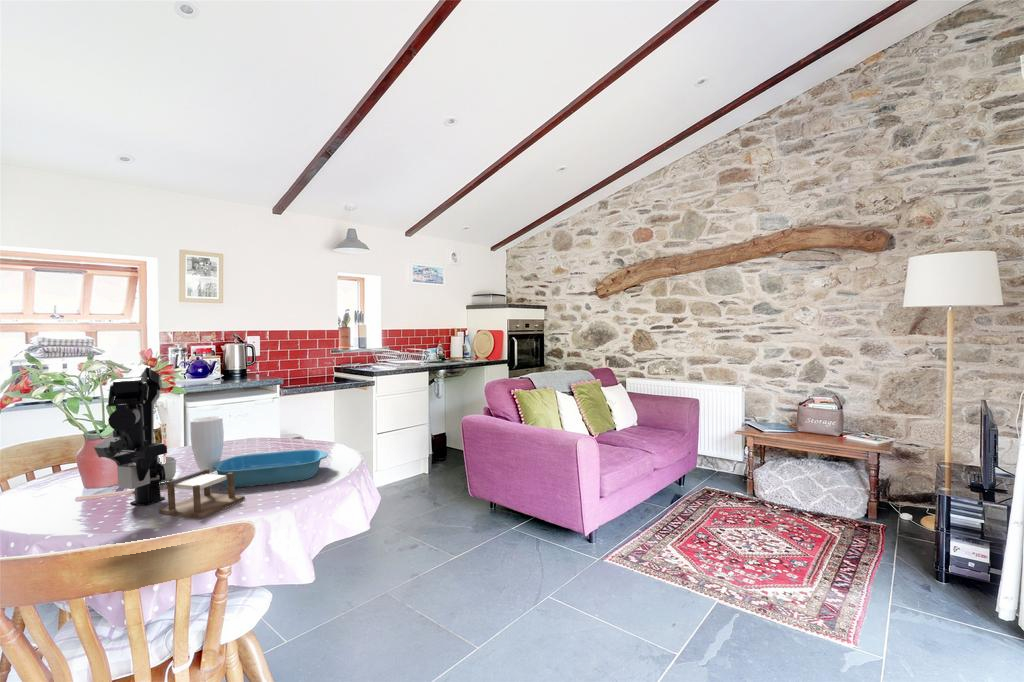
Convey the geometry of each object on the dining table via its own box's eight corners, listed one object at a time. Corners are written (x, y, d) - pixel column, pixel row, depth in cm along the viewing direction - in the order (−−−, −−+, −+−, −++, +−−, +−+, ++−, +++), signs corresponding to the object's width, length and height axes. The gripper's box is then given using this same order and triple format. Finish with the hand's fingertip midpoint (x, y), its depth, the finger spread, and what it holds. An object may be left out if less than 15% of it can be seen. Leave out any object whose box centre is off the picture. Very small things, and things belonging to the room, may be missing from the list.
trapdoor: (176, 488, 145) (176, 484, 145) (206, 477, 155) (206, 473, 155) (197, 490, 143) (197, 486, 143) (226, 479, 153) (226, 475, 153)
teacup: (171, 475, 181) (170, 454, 181) (182, 481, 174) (180, 458, 174) (124, 486, 170) (122, 463, 170) (133, 492, 164) (132, 468, 163)
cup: (188, 480, 176) (185, 419, 175) (221, 473, 183) (218, 414, 182) (196, 486, 168) (192, 423, 167) (230, 479, 175) (227, 418, 174)
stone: (118, 487, 136) (117, 466, 136) (136, 482, 141) (135, 461, 141) (131, 489, 135) (130, 467, 134) (150, 483, 139) (148, 462, 139)
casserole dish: (329, 463, 193) (328, 445, 192) (327, 480, 171) (326, 460, 171) (221, 475, 181) (220, 456, 181) (205, 495, 160) (203, 473, 160)
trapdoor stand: (159, 513, 144) (157, 482, 144) (204, 495, 159) (203, 467, 158) (202, 518, 140) (200, 486, 139) (244, 499, 154) (243, 470, 154)
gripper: (74, 429, 132) (77, 487, 133) (125, 432, 127) (129, 492, 127) (117, 420, 143) (121, 474, 143) (167, 423, 137) (170, 478, 138)
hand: (134, 480), depth 138 cm, fingers closed on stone, 5 cm apart
